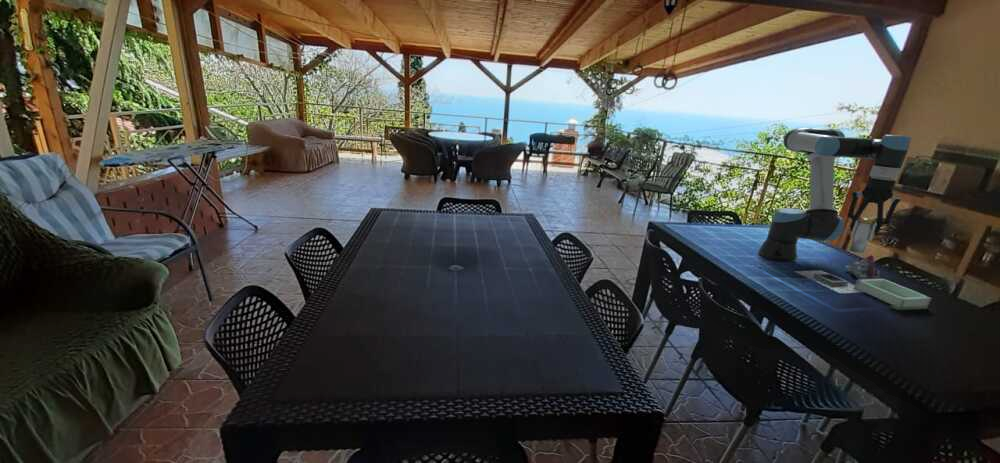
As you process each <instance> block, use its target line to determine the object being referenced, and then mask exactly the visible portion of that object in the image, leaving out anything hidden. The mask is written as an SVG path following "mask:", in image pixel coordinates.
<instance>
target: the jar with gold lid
mask: <svg viewBox="0 0 1000 463" xmlns="http://www.w3.org/2000/svg"><path fill="white" fill-rule="evenodd" d="M858 220H859V222H858V225H857V228H856V231H855V234H854V236H853V237H852V239H851V242H850V244H849V245H850V246H849V248H848V251H849V252H852V253H853V252H854V253H856V254H857V253H858V254H864V252H865V251H866V247H867V245H868V242H869V241H868V239H869V236H870V233H871V231H872V228H873V225H874V224H875V223H877V219H874V218H870V217H861V216H860V217H859V218H858Z"/></svg>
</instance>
